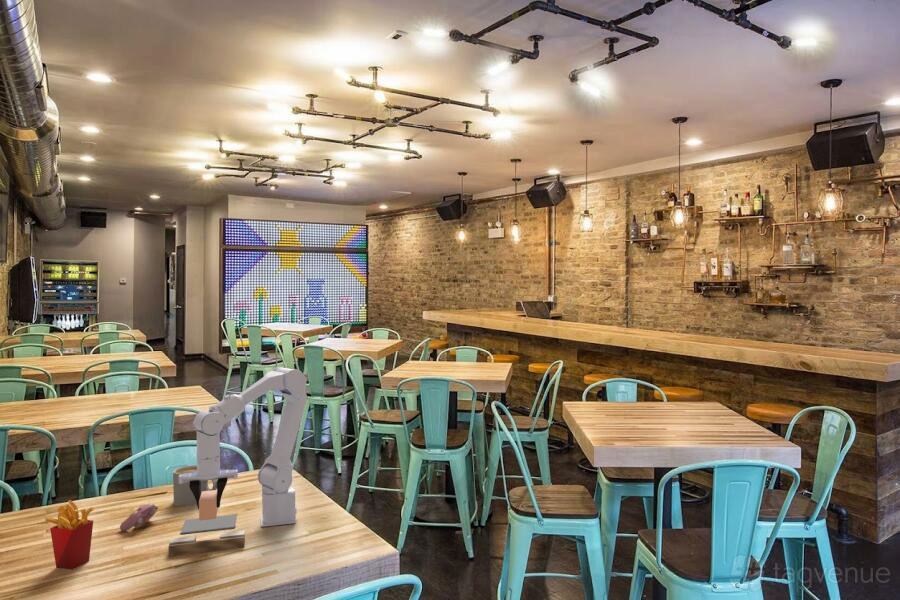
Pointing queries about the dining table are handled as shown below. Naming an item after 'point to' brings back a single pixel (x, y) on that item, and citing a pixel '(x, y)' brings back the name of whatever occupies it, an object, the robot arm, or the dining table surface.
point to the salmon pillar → (208, 505)
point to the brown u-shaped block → (206, 543)
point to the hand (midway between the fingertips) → (209, 507)
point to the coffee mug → (187, 487)
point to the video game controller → (139, 517)
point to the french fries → (71, 536)
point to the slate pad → (209, 524)
